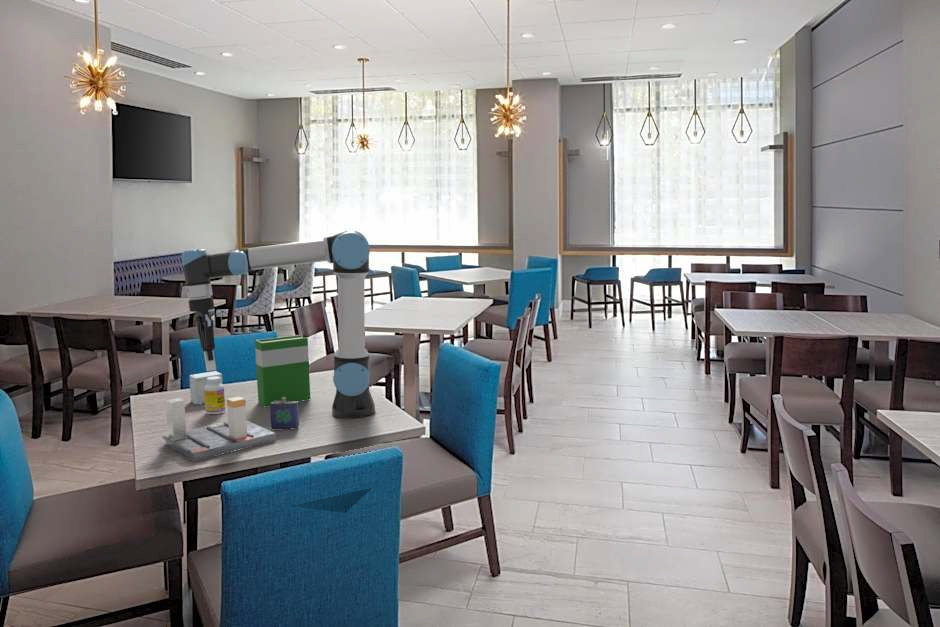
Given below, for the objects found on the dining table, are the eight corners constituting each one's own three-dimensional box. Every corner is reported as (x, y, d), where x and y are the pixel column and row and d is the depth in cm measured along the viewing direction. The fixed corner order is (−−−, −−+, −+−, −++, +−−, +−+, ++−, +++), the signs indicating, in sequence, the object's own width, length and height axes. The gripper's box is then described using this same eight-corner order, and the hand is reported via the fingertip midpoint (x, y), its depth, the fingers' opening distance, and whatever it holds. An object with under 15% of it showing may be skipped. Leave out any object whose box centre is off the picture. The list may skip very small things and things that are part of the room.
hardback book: (303, 395, 285) (300, 334, 282) (310, 399, 279) (307, 337, 275) (258, 402, 275) (254, 340, 272) (264, 407, 269) (261, 343, 266)
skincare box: (196, 405, 273) (194, 377, 272) (190, 401, 278) (188, 374, 276) (224, 400, 280) (222, 373, 278) (217, 396, 285) (215, 370, 283)
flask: (299, 426, 246) (298, 395, 244) (298, 429, 243) (296, 397, 241) (271, 427, 245) (269, 396, 243) (270, 430, 242) (268, 399, 240)
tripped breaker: (229, 436, 228) (226, 398, 226) (241, 433, 230) (239, 396, 228) (235, 439, 225) (232, 401, 223) (247, 436, 227) (245, 398, 226)
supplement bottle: (219, 415, 259) (216, 380, 257) (202, 415, 260) (199, 379, 258) (229, 410, 265) (226, 376, 264) (212, 409, 267) (210, 375, 265)
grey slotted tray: (160, 444, 229) (157, 399, 227) (242, 425, 247) (240, 383, 245) (191, 462, 212) (187, 414, 210) (276, 441, 231) (274, 396, 228)
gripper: (183, 299, 238) (194, 370, 241) (193, 300, 227) (204, 374, 230) (207, 295, 242) (217, 365, 245) (217, 296, 231) (228, 369, 234)
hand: (211, 370), depth 237 cm, fingers closed
